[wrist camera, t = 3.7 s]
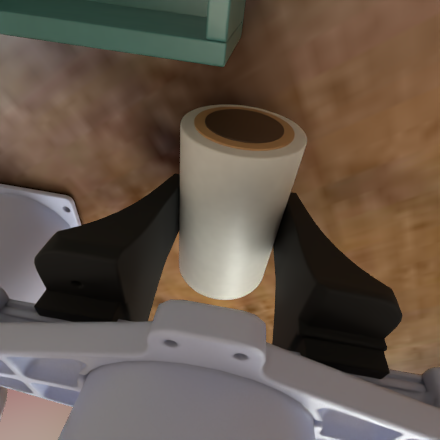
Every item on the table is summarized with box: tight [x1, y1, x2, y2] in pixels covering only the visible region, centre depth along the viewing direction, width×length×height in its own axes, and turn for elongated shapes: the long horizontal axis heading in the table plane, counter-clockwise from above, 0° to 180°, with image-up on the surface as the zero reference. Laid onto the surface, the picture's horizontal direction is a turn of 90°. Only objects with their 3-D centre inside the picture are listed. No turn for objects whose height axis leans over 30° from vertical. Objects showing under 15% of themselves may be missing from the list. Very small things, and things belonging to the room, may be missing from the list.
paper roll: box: [179, 105, 307, 300], centre depth 13 cm, size 8×5×5 cm
